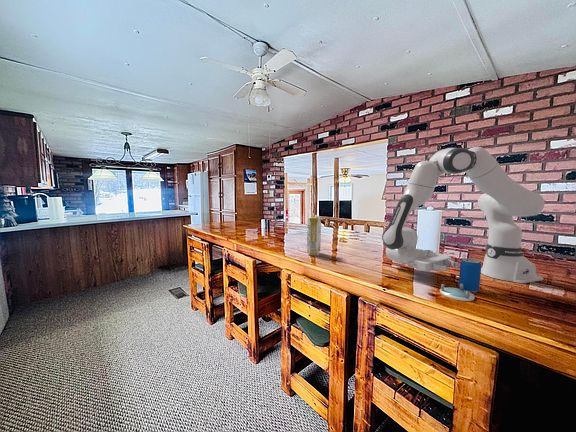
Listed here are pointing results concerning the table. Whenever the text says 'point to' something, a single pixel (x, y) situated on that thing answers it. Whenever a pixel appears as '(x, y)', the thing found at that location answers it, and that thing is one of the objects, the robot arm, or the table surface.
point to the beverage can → (470, 274)
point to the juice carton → (314, 235)
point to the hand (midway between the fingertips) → (452, 267)
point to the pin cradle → (457, 293)
